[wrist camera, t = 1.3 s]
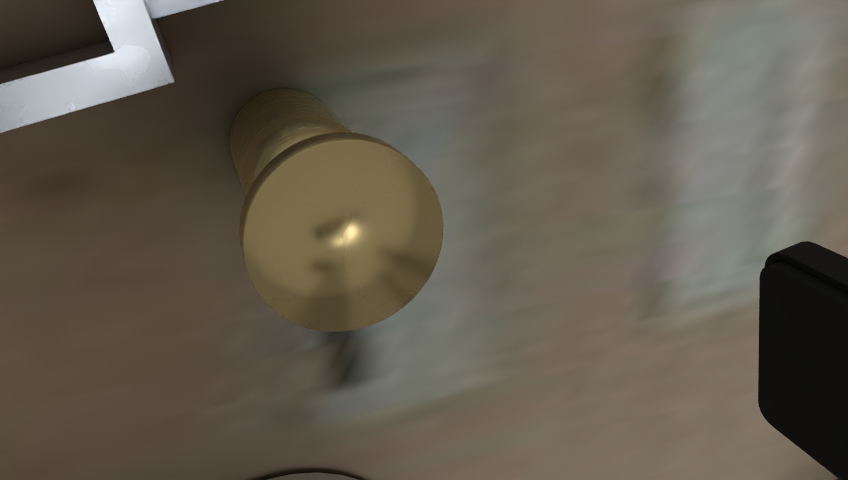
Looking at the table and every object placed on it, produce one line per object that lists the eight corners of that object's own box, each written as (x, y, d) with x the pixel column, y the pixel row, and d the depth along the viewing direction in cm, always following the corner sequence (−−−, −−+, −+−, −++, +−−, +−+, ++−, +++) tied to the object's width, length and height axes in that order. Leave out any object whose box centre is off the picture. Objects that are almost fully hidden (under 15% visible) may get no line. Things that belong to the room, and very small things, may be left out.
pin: (297, 229, 27) (360, 362, 18) (186, 156, 25) (199, 269, 16) (376, 129, 27) (480, 217, 18) (271, 44, 24) (332, 98, 16)
